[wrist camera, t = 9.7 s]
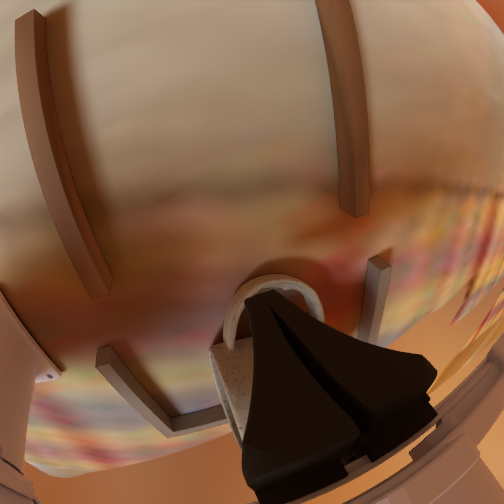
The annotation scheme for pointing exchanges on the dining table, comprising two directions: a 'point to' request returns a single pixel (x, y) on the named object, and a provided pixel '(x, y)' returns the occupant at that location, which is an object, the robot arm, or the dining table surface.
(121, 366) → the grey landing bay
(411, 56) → the dining table surface
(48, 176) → the walnut dock
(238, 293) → the speckled coffee cup
